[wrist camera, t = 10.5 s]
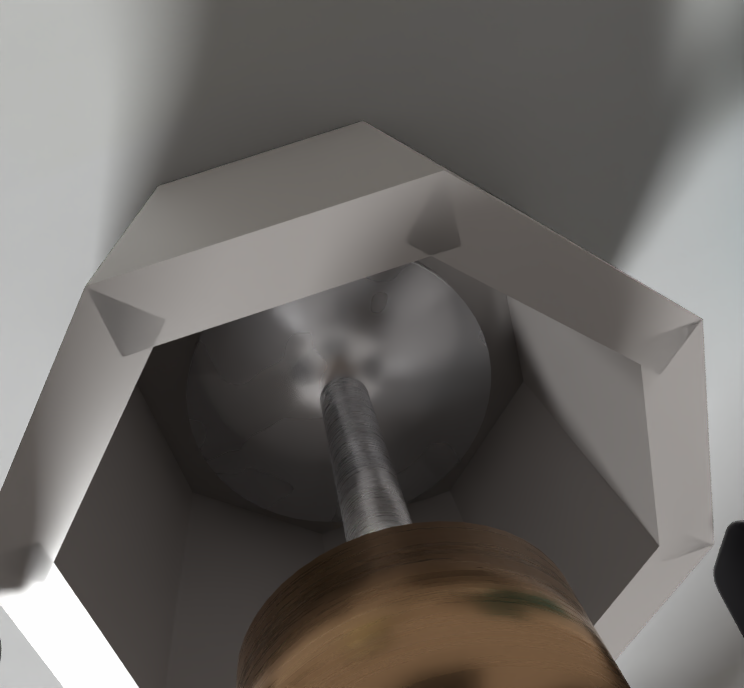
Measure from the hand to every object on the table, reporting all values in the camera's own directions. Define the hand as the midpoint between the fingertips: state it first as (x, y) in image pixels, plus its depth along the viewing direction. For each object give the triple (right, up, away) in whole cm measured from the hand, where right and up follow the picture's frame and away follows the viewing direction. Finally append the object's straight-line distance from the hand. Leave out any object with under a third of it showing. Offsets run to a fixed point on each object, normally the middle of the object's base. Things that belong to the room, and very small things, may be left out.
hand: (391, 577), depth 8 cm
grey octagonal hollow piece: (-1, +2, +5) cm, 6 cm away
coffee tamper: (-1, +2, +4) cm, 5 cm away
